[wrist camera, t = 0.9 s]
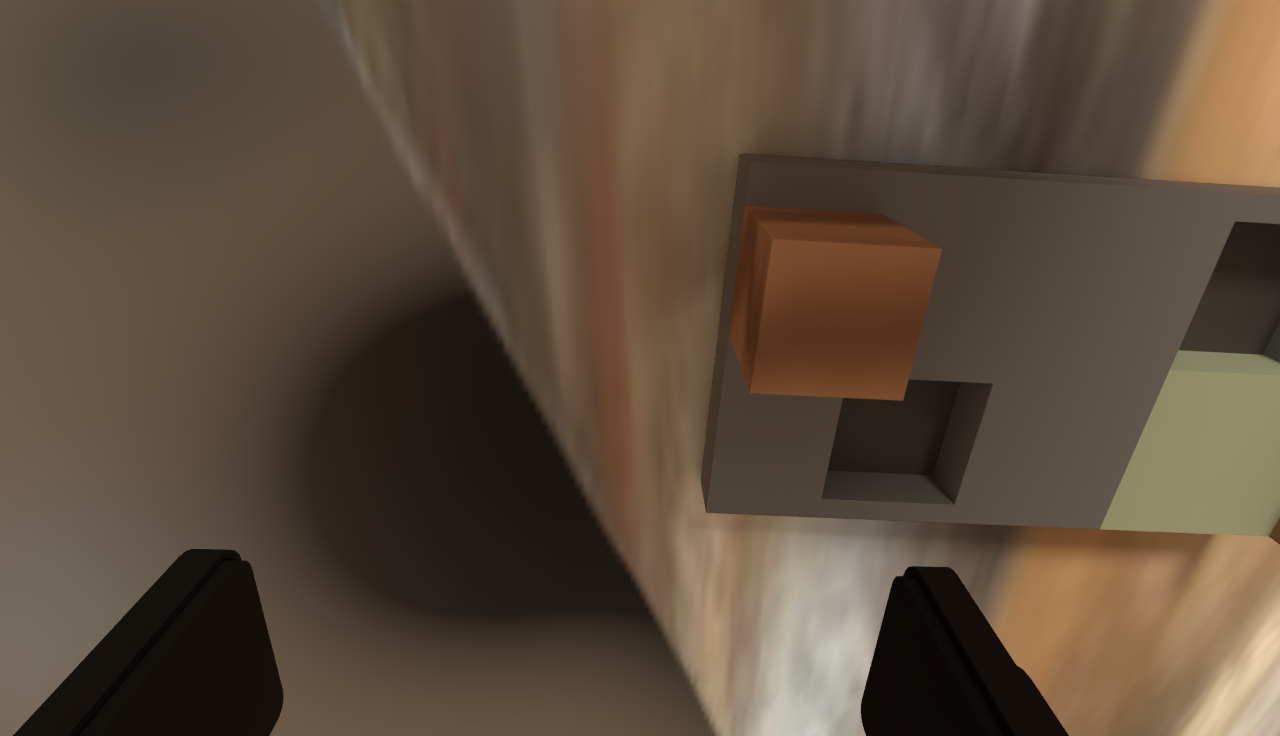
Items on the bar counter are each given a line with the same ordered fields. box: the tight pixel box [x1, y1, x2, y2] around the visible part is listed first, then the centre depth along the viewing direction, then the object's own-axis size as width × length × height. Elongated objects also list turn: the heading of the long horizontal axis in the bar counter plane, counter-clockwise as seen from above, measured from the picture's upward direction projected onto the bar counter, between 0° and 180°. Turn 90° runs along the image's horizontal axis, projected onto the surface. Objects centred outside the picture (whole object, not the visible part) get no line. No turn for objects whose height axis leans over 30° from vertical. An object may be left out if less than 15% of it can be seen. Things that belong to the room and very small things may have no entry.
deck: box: [701, 154, 1280, 544], centre depth 27 cm, size 15×27×4 cm, turn 86°
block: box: [729, 206, 942, 401], centre depth 22 cm, size 5×5×5 cm
